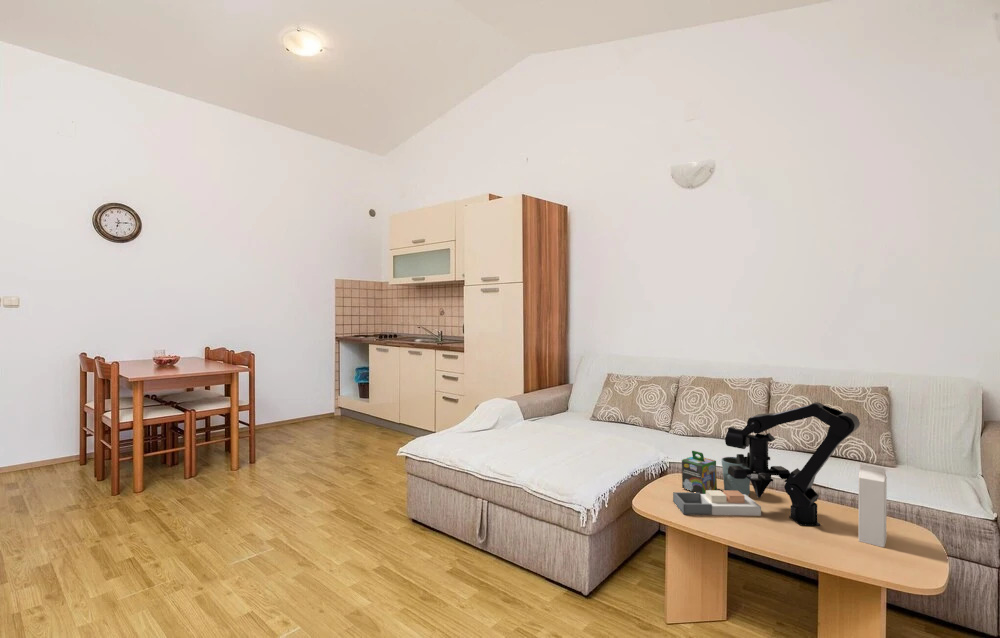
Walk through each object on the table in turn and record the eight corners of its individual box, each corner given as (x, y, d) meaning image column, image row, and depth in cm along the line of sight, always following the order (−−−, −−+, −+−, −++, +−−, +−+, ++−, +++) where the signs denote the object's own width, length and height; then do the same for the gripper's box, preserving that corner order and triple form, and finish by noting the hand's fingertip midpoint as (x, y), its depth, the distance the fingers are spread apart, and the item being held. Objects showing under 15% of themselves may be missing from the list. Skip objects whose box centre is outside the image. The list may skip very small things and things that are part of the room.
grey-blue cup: (741, 499, 175) (741, 466, 175) (715, 490, 184) (715, 459, 184) (756, 493, 181) (756, 461, 181) (731, 485, 189) (731, 454, 189)
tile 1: (720, 497, 169) (720, 490, 169) (726, 502, 164) (726, 495, 164) (705, 497, 169) (705, 490, 169) (711, 502, 164) (711, 495, 164)
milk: (861, 534, 147) (861, 461, 147) (886, 540, 143) (886, 466, 143) (858, 541, 142) (858, 466, 142) (884, 548, 138) (884, 470, 138)
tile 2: (737, 497, 169) (737, 490, 169) (744, 502, 164) (744, 495, 164) (723, 497, 169) (723, 490, 169) (729, 502, 164) (729, 495, 164)
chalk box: (717, 491, 183) (717, 452, 183) (702, 496, 178) (702, 456, 178) (695, 484, 191) (695, 446, 191) (681, 488, 186) (681, 450, 186)
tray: (699, 502, 172) (699, 492, 172) (711, 515, 161) (711, 504, 161) (673, 502, 173) (673, 492, 173) (683, 514, 162) (683, 504, 162)
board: (745, 502, 172) (745, 494, 172) (761, 515, 161) (761, 506, 161) (699, 502, 172) (699, 493, 172) (712, 515, 161) (712, 506, 161)
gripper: (773, 445, 174) (773, 489, 174) (721, 445, 174) (721, 488, 175) (791, 454, 163) (791, 501, 163) (735, 454, 163) (735, 500, 163)
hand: (758, 497), depth 166 cm, fingers closed
